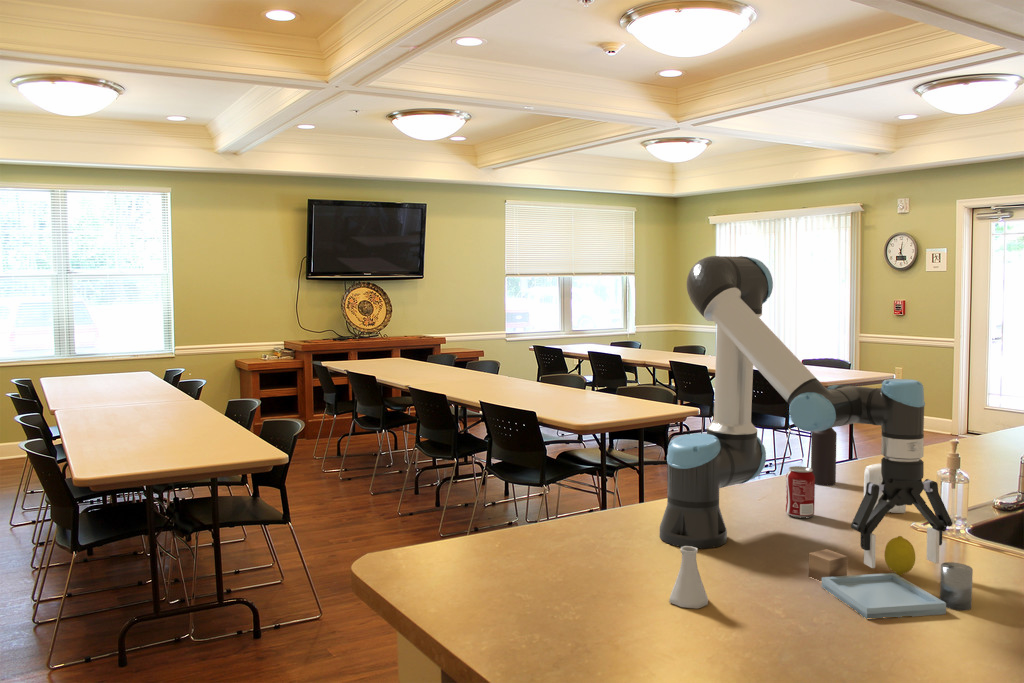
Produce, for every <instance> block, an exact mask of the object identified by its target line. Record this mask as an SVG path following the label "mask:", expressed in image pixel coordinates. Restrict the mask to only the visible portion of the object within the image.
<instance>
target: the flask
mask: <svg viewBox="0 0 1024 683" xmlns="http://www.w3.org/2000/svg"><path fill="white" fill-rule="evenodd" d="M698 551H699V548H695V547H692V546H684V547H680V553H681V563H680V567H679V568H680V569H679V570H678V573H677V577H676V579H675V583H674V584H673V587H672V590H671V593H670V596H669V601H668V603H669V604H673V605H675V606H678V607H680V608H687V609H701V608H703V607H706V606H708V605H709V598H708V594H707V591H706V589H705V586H704V583H703V581H702V578H701V575H700V572H699V569H698V562H697V554H698Z"/></svg>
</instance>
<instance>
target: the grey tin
mask: <svg viewBox="0 0 1024 683" xmlns="http://www.w3.org/2000/svg"><path fill="white" fill-rule="evenodd" d="M973 573H974V571H973V567H971V566H970V565H967V564H964V563H959V562H954V561H953V562H952V561H951V562H950V561H948V562H943V563H941V564H940V585H939V591H940V592H939V599H940V600H942V601H944V602H945V603H946V609H950V610H956V611H970V610H971V609H972V605H973V603H972V602H973V601H972V600H973V598H972V597H973Z"/></svg>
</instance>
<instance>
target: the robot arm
mask: <svg viewBox="0 0 1024 683" xmlns="http://www.w3.org/2000/svg"><path fill="white" fill-rule="evenodd" d="M773 281H774V280H773V277H772V273H771V271H770V269H769V267H767V266H766V264H765V263H764V262H763V261H761V260H759V259H757V258H755V257H750V256H749V257H748V256H742V255H741V256H726V255H725V256H720V255H711V256H706V257H704V258H701V259H700V260H698V261H697V262H696V263H695V264H693V265H692V267H691V269H690V270H689V272H688V275H687V277H686V291H687V294H688V298H689V299H690V301H691V303H692V304H693V306H694V308H695V309H696V311H697V312H698V313H699V314H700V315H701V316H702V317H703V318H704V319H705V320H706V321H707V322H714V323H715V324H716V345H715V346H716V348H715V375H714V377H715V378H714V400H713V401H714V406H713V421H711V422H710V423H709V424H708V425H707V426H706V433H699V432H698V433H693V434H690V433H688V434H683V435H679V436H676V437H673V439H672V440H670V442H669V444H668V445H667V446H668V448H667V455H666V461H667V462H666V465H667V467H666V470H667V471H666V472H667V473H666V475H667V476H666V479H667V480H666V482H667V485H666V486H667V488H666V489H667V491H666V494H667V495H666V496H667V502H666V507H665V510H664V513H663V516H662V519H661V522H660V525H659V538H660V540H662V541H663V542H665V543H666V544H669V545H672V546H675V547H680V548H681V547H684V546H692V547H695V548H698V549H711V548H717V547H720V546H722V545H724V544H726V543H727V541H728V531H727V527H726V523H725V521H724V517H723V514H722V511H721V507H720V489H722V488H726V487H730V486H735V485H741V484H745V483H747V482H749V481H751V480H754V479H755V478H757V477H758V476H759V475H760V474H761V473H762V471H763V469H764V468H765V465H766V461H767V460H766V459H767V452H766V448H765V446H764V444H763V443H762V440H761V439H760V437H758V428H757V427H756V426H755V425H754V424H753V422H752V404H753V403H752V400H753V379H754V375H753V374H754V367H755V369H757V371H758V372H759V373H760V374H761V375H762V376H763V377H764V379H766V380H767V381H768V383H769V384H770V385H771V386H772V387H773V389H775V391H777V393H778V394H779V395H780V396H781V397H782V398H783V399H784V400H785V402H786V403H787V404H788V405H789V408H788V409H789V410H788V413H789V416H790V419H791V421H792V423H793V424H794V426H795V427H796V428H797V429H799V430H801V431H804V432H812V431H823V430H826V429H828V428H835V427H844V426H847V425H852V424H861V425H872V426H880V429H881V445H880V446H881V448H880V453H881V455H882V456H883V457H882V458H881V460H880V462H881V474H882V478H883V480H882V483H881V484H873V483H871V482H868V483H867V486H866V494H865V496H864V495H863V498H862V500H861V503H860V504H859V506H858V508H857V511H856V513H855V516H854V518H853V520H852V522H851V524H850V528H851V529H852V530H854V531H856V532H858V533H860V548H861V549H862V550H863V564H864V565H866V566H868V567H869V568H871V569H875V568H876V546H877V545H876V541H877V540H876V538H877V537H876V536H877V535H876V534H874V533H873V532H874V530H875V529H876V528H877V527H878V526H879V525H880V523H881V522H882V520H883V519H884V518H885V516H886V515H887V514H888V513H889V512H888V511H889V510H890V509H892V508H893V507H894V506H895V505H897V506H902V505H906V506H913V505H914V507H915V509H916V510H918V512H919V513H920V514H921V515H922V516H923V517H922V518H924V519H925V521H926V522H927V523H928V524H929V525H930V526H931V527H930V526H929V527H926V560H927V561H929V562H931V563H933V564H940V546H942V544H943V532H946V531H947V528H949V527H952V526H953V521H952V519H951V517H950V515H949V512H948V511H947V508H946V505H945V503H944V502H943V500H942V497H941V496H940V493H939V486H938V482H937V481H934V480H933V479H932V480H931V479H929V478H926V479H925V480H924V481H922V480H923V479H924V471H925V470H924V466H925V465H924V462H925V461H923V460H922V459H923V458H924V455H925V454H924V453H925V452H924V451H925V450H924V449H925V448H924V447H925V445H924V444H925V442H924V440H925V438H924V437H925V436H924V434H925V433H924V425H925V406H926V402H925V394H924V393H925V392H924V390H925V389H924V385H923V383H922V382H920V381H919V380H917V379H910V378H909V379H907V378H905V379H901V378H891V379H890V378H889V379H885V380H883V381H882V382H881V387H876V388H875V387H867V386H856V385H855V386H854V385H849V384H832V385H829V386H828V387H825V385H823V383H822V382H821V381H820V380H818V378H817V377H816V376H815V375H814V374H813V372H811V371H810V369H809V368H807V367H806V366H805V365H804V363H803V362H802V361H801V360H800V359H799V358H798V357H797V356H796V355H795V354H794V353H793V352H792V350H790V349H789V348H788V347H787V346H786V344H784V342H783V341H782V340H781V339H780V338H779V337H778V336H777V335H776V334H775V333H774V332H773V330H772V329H770V328H769V326H767V324H766V323H765V322H764V321H763V320H762V319H761V316H762V315H763V305H764V304H765V303H766V302H767V301H768V299H769V298H770V297H771V295H772V292H773V287H774V282H773ZM881 491H882V492H883V495H882V496H881V497H880V499H879V500H878V504H877V505H876V506H875V504H876V502H877V499H878V495H880V494H881ZM923 491H924V492H925V495H926V497H927V499H928V501H929V503H930V506H931V508H932V509H931V508H930V507H929V505H928V504H927V502H926V501H925V499H924V498H923V497H922V496H921V494H922V493H923ZM887 500H888V502H887ZM874 506H875V508H874ZM873 508H874V509H873ZM933 511H934V512H933Z"/></svg>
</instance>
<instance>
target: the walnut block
mask: <svg viewBox="0 0 1024 683" xmlns="http://www.w3.org/2000/svg"><path fill="white" fill-rule="evenodd" d="M835 576H848V556H847V555H846V554H845V555H844V554H841V553H839V552H836V551H833V550H830V549H827V548H826V549H822V550H817V551H812V552H809V553H808V578H809V577H812V578H814V579H817V580H819V581H822V577H835ZM814 579H813V580H814ZM819 581H818V582H819Z"/></svg>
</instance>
